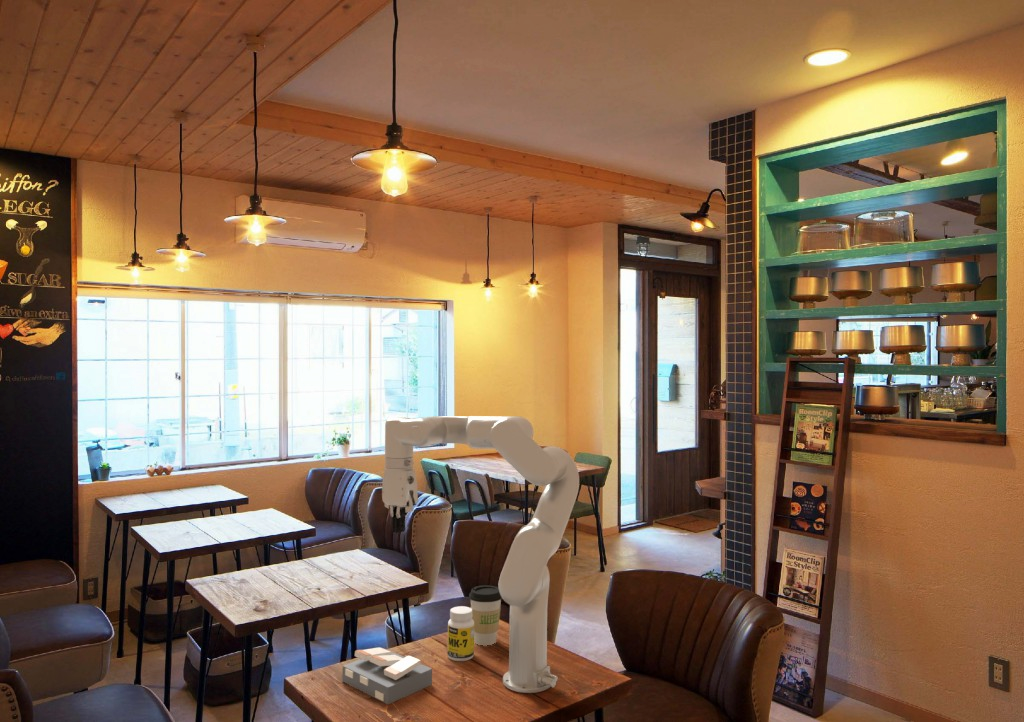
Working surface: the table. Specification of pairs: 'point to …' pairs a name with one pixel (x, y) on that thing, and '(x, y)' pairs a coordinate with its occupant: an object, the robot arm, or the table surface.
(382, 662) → the rocker
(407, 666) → the block
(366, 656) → the block
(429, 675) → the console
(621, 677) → the table surface
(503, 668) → the table surface
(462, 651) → the supplement bottle
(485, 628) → the coffee cup
